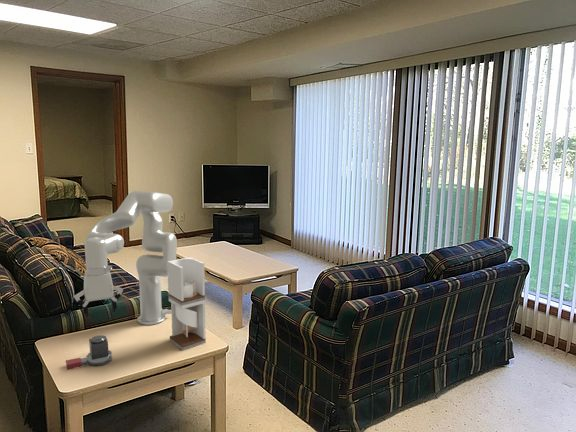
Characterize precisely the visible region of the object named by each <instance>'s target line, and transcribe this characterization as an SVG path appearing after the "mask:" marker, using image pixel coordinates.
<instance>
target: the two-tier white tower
mask: <svg viewBox="0 0 576 432" xmlns="http://www.w3.org/2000/svg"><path fill="white" fill-rule="evenodd" d="M167 266H168V277H167V286H168V288H167V289H168V290H167V291H168V302H170V303H171V304H170V305H171V306H170V307H171V308H170V310H171V312H172V314H171V335H169V342H171V343H173V344H174V345H175V346H176V347H178V348H179V349H180V350H182V351H185V350H188V349H191V348H194V347H197V346H200V345H203V344H206V340H207V339H206V299H205V298H206V287H205V286H206V284H205V283H206V281H205V279H206V278H205V277H206V276H205V262H203V261H200V260H198V259H196V258H193V257H190V256H189V257H184V258H178V259H176V260H172V261H167Z"/></svg>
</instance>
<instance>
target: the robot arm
mask: <svg viewBox="0 0 576 432" xmlns="http://www.w3.org/2000/svg"><path fill="white" fill-rule="evenodd" d="M173 206H174V200H173V198H172V196H171V195H170V194H168V193H164V192H163V193H162V192H158V191H157V192H156V191H147V190H145V191H144V190H133V191H131V192H129V193H128V195H126V197H125V199H124V200H123V201H122V203H121V204H120V206H119V207H118V208H117V210H116V211H115V212H113V213H111V214H109V215H107V216H106V217H104V218H102V219H100V220H98V222H96V223H95V224H94V225H93V226H92V227H91V229H90V230H89V232H88V233H87V235H86V238H85V241H84V255H85V266H86V267H85V268H86V273H84V277H83V290H81V291H80V292H78V293H76V294H74V295H73V297H74V299H75V301H76V302H77V304H79V305H81V306H82V309H83V315H85V317H86V318H87V317H89V307H88V304H89V303H90V302H95V301H102V300H107V299H111V300H110V301H111V310H112V312H113V313H115V312H116V309H118V308H117V302H118V300H119V299H120V298H121V296H122V293H123V291H124V289H123V288H122V287H119V286H117V285H113V284H114V283H113V279H112V274H111V271H110V270H112V269H113V265H109V264H108V255H111V254H117V253H118V252H120V251H122V250H123V248H124V246H125V240H124V238H123V236H122V235H120V234H118V233H113V232H115V231H119V230H122V229H126V228H129V227H132V226H133V225H134V224H135V222H136V221H137V219H138V217H139V216H140V215H141V217H142V220H143V227H142V228H143V229H142V239H141V246H142V247H141V248H143V250H144V251H146V252H154V253H162V254H161V255H160V254H151V253H149V254H142V255H140V256H139V257H138V258H137V260H136V262H135V263H136V265H135V266H136V272H137V275H138V281H139V282H138V284H139V303H140V306H139V309H140V310H139V311H140V315H139V316H138V317H137V319H136V320H137V323H139V324H141V325H145V326H153V325H156V324H157V325H158V324H161V323H162V322H164V321H165V320H166V315H172V312H171V309H168V308H165V309H163V308H162V284H161V281H160V278H159V277H165V278H168V266H167V261H172V260H177V251H178V240H177V237H176V235H175V234H174V233H173V232H169V231H163V225H164V224H163V217H162V216H161V214H160V213H169V212H171V211H172V209H173ZM114 291H116V292H117V293H116V294H115V293H114ZM83 296H84V299H83V300H82V299H80V297H83Z"/></svg>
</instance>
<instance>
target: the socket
mask: <svg viewBox="0 0 576 432" xmlns="http://www.w3.org/2000/svg"><path fill="white" fill-rule="evenodd" d="M88 342H89V353H90V355H91V358H92V360H94V359H99V358H103V357H108V356H109V351H108V350H109V340H108V339H107V335H104V334H103V335H102V334H101V335H95V336H93V337H90V338H88Z"/></svg>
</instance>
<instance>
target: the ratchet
mask: <svg viewBox="0 0 576 432" xmlns="http://www.w3.org/2000/svg"><path fill="white" fill-rule="evenodd" d="M108 351H109V356H108V357H103V358H99V359H94V360H92V358H91V355H90V352H89V353H88V354H87V355H86V357H83V358H81V357H75V358H71V359H67V360H65V363H66V364H65V365H66V370H67V371H68V370H73V369H78V368H82V367H86V366H89V365H90V367H101V366H105V365H108V364H109V363H110V362H112V360H113V356H112V355H113V353H112V351H111V350H109V349H108Z"/></svg>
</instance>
